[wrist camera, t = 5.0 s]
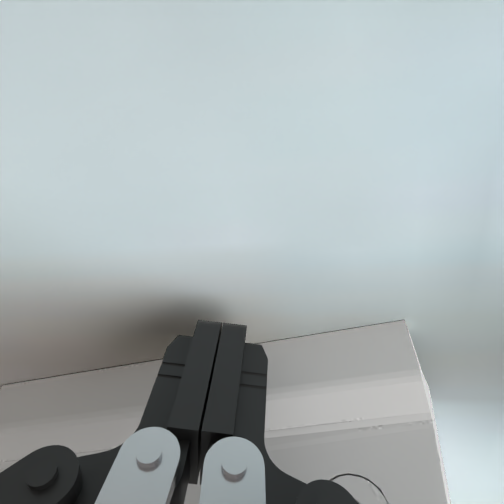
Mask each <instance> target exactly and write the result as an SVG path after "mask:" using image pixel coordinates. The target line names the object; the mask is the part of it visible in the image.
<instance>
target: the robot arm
mask: <svg viewBox="0 0 504 504" xmlns="http://www.w3.org/2000/svg"><path fill="white" fill-rule="evenodd" d="M246 328H247V326H246V325H237V324H229V323H224V324H223V328H222V323H219V322H211V321H202V320H198V322H197V325H196V329H195V332H194V336H193V337H190V336H182V335H179V336H178V337H177V338H176V339H175V340H174V341H173V342H172V343H171V344H170V345H169V346H168V347H167V350H166V352H165V355H164V358H163V361H162V365H161V366H160V369H159V372H158V376H157V377H156V380H155V383H154V385H153V388H152V391H151V394H150V396H149V399H148V402H147V405H146V407H145V410H144V413H143V416H142V418H141V421H140V424H139V426H138V428H137V429H136V431H135V432H134V434H132V435H131V436H130V437H129V438H128V439H127V440H126V441H125V442H124V443H123V444H121V445H119V446H118V447H116V448H114V449H111V450H108V451H104V452H100V453H95V454H90V455H85V456H80V457H77V456H76V454H75V453H74V452H73V451H72V450H71V449H70V448H68V447H65V446H61V445H50V446H46V447H42V448H40V449H37V450H35V451H33V452H32V453H30V454H28V455H27V456H25V457H24V458H22V459H21V460H19V461H18V462H16V463H14V464H13V465H11V466H10V467H8V468H7V469H5V470H4V471H2V472H1V473H0V504H184V501H185V496H186V491H187V486H188V483H189V484H197V483H198V478H199V472H200V485H201V492H200V502H199V504H358V503H357V501H356V500H355V499H354V498H353V496H352V495H351V494H350V493H349V492H348V491H347V490H346V489H345V488H344V487H342V486H341V485H339V484H338V483H335V482H333V481H330V480H323V479H320V480H315V481H312V482H310V483H308V484H306V483H304V482H302V481H300V480H298V479H296V478H294V477H292V476H290V475H288V474H286V473H285V472H283V471H281V470H280V469H279V468H278V467H277V466H276V465H275V464H274V463H273V462H272V460H271V459H270V457H269V455H268V453H267V451H266V448H265V443H264V433H265V412H266V391H267V390H266V389H267V371H268V358H267V355H266V353H265V351H264V349H263V346H262V345H258V344H250V343H245V337H246Z"/></svg>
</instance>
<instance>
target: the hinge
mask: <svg viewBox="0 0 504 504" xmlns="http://www.w3.org/2000/svg"><path fill="white" fill-rule="evenodd" d="M258 345H262V346H263V349H264V351H265V353H266V355H267V358H268V371H267V389H266V390H267V391H266V412H265V433H264V443H265V448H266V451H267V453H268V455H269V457H270V459H271V460H272V462H273V463H274V464H275V465H276V466H277V467H278V468H279V469H280V470H281V471H283V472H285V473H286V474H288V475H290V476H292V477H294V478H296V479H298V480H300V481H302V482H304V483H306V484H308V483H310V482H312V481H315V480H320V479H323V480H330V481H333V482H335V483H338V484H339V485H341V486H342V487H344V488H345V489H346V490H347V491H348V492H349V493H350V494H351V495H352V496H353V498H354V499H355V500H356V501H357V503H358V504H451V500H450V495H449V490H448V484H447V479H446V474H445V469H444V463H443V458H442V453H441V447H440V442H439V437H438V432H437V426H436V421H435V416H434V410H433V405H432V400H431V395H430V389H429V387H428V384H427V382H426V380H425V377H424V375H423V373H422V370H421V367H420V363H419V360H418V357H417V354H416V351H415V348H414V345H413V342H412V339H411V336H410V333H409V330H408V327H407V325H406V322H405V320H401V321H395V322H389V323H383V324H376V325H370V326H364V327H358V328H352V329H346V330H340V331H333V332H327V333H321V334H315V335H309V336H303V337H297V338H290V339H284V340H278V341H272V342H266V343H260V344H258ZM162 361H163V359H161V360H155V361H149V362H143V363H137V364H130V365H124V366H118V367H112V368H106V369H100V370H94V371H87V372H81V373H75V374H69V375H63V376H57V377H50V378H44V379H38V380H32V381H26V382H20V383H14V384H7V385H2V387H1V389H0V473H1V472H2V471H4V470H5V469H7V468H8V467H10V466H11V465H13V464H14V463H16V462H18V461H19V460H21V459H22V458H24V457H25V456H27V455H28V454H30V453H32V452H33V451H35V450H37V449H40V448H42V447H46V446H50V445H61V446H65V447H68V448H70V449H71V450H72V451H73V452H74V453H75V454H76V456H77V457H80V456H85V455H90V454H95V453H100V452H104V451H108V450H111V449H114V448H116V447H118V446H119V445H121V444H123V443H124V442H125V441H126V440H127V439H128V438H129V437H130V436H131V435H132V434H134V432H135V431H136V429H137V428H138V426H139V424H140V421H141V418H142V416H143V413H144V410H145V407H146V405H147V402H148V399H149V396H150V394H151V391H152V388H153V385H154V383H155V380H156V377H157V376H158V372H159V369H160V366H161V365H162ZM200 492H201V485H200V472H199V478H198V483H197V484H189V483H188V486H187V491H186V496H185V501H184V504H199V502H200Z"/></svg>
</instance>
